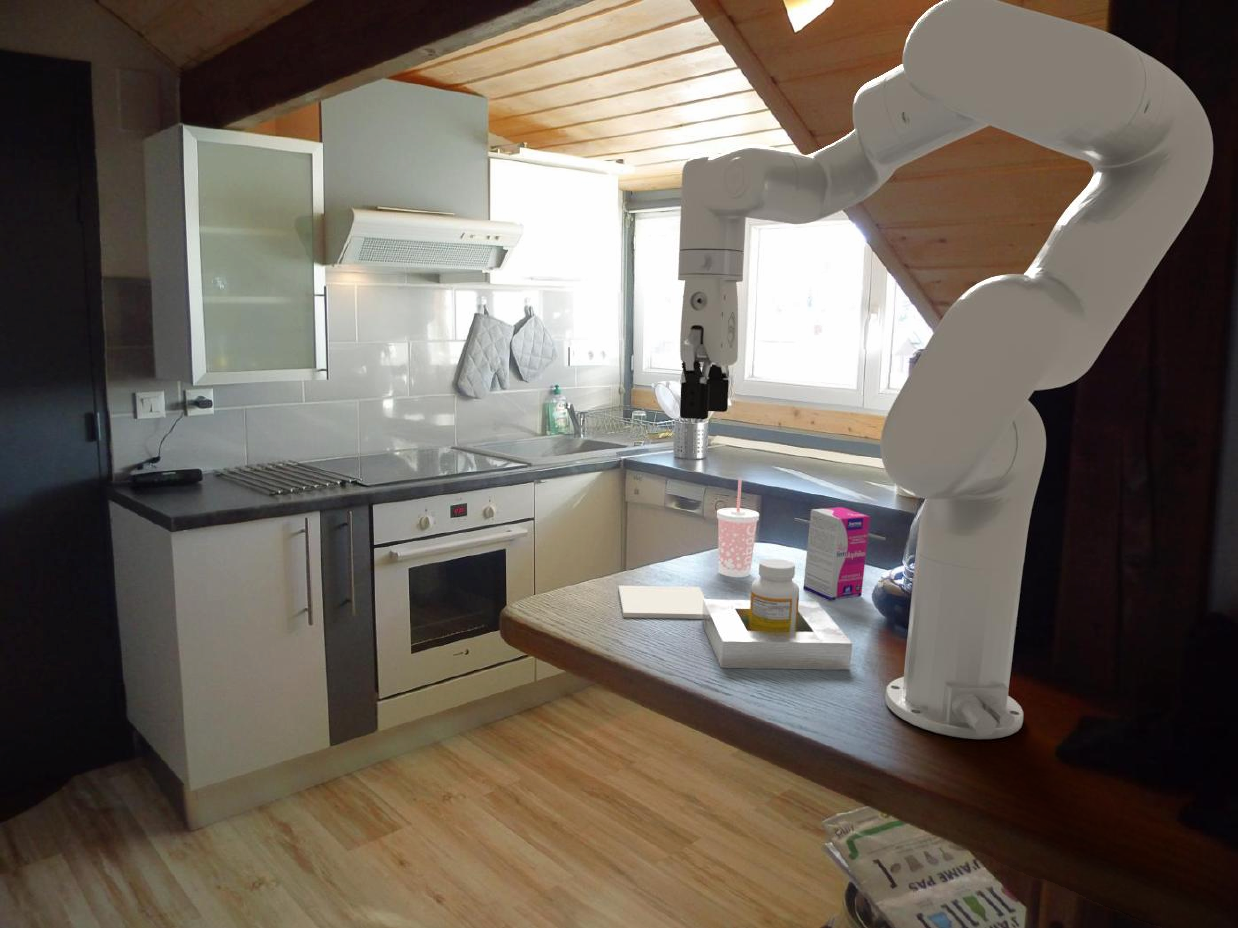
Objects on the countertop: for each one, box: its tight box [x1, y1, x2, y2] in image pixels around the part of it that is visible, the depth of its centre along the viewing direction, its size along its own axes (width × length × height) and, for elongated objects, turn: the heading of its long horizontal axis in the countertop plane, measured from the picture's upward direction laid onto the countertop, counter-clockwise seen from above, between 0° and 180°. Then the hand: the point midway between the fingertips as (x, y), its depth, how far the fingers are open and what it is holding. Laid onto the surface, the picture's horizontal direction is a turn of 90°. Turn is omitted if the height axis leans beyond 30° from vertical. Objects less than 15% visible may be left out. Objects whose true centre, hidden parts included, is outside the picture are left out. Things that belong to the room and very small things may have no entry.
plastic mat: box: [618, 585, 706, 620], centre depth 118 cm, size 11×11×1 cm
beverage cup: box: [716, 477, 760, 578], centre depth 132 cm, size 6×6×14 cm
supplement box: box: [802, 506, 871, 602], centre depth 124 cm, size 6×6×12 cm
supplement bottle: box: [749, 558, 800, 632], centre depth 104 cm, size 5×5×10 cm
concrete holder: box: [701, 598, 853, 671], centre depth 104 cm, size 14×14×3 cm
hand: (704, 414), depth 109 cm, fingers open, 9 cm apart
